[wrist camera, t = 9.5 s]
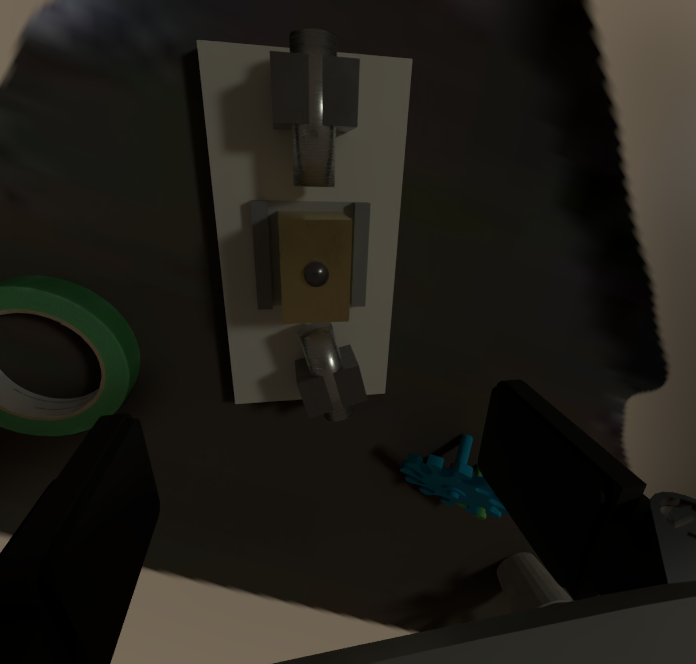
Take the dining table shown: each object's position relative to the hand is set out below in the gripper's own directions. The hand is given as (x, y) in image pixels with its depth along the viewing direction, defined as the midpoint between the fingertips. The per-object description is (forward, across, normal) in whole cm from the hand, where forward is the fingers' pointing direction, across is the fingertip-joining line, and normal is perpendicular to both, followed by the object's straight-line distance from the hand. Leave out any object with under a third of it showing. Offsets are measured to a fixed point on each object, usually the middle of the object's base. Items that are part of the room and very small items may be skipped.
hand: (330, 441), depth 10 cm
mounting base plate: (+19, -1, -1) cm, 19 cm away
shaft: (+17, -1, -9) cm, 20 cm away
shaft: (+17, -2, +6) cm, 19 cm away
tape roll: (+19, +17, +5) cm, 26 cm away
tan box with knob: (+17, -1, -1) cm, 17 cm away
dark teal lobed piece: (+19, -14, +19) cm, 30 cm away
